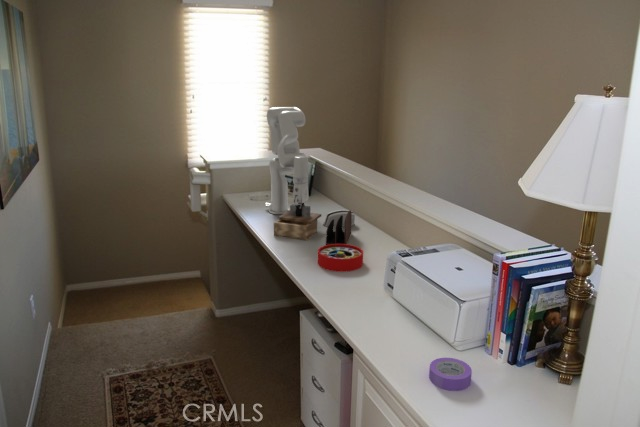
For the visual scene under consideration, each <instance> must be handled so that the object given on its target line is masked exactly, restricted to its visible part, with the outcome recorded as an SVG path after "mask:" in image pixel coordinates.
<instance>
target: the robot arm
mask: <svg viewBox="0 0 640 427" xmlns="http://www.w3.org/2000/svg"><path fill="white" fill-rule="evenodd" d="M266 120H267V125H268V126H269V130H270V148H271V153H272V155H275V156H277V157H274V158H272V159H271V160H269V164H268V166H269V172H270V192H271V193H270V194H271V195H270V196H271V197H270V203H269V202H265V203H264V204H265V205H264V206H265V208H269V209H268V212H269V214H272V215H273V214H274V215H283V214H284V213H286V212H287V211H289V210H290V208H289V204H288V202H289V200H288V198H289V195H288V193H289V190H288V189H289V184H288V179H287V178H286V177H285V176H284V175H292V174H293V175H292V180H293V181H292V182H293V192H292V201H293V204H294V206H296V216H302V209H301V205H303V206H306V202H308V201H309V197H310V195H309V157H308V156H307V155H306V154H305V153H302V152H301V151H300V142H299V140H298V138H299V132H298V128H299V127H300V128H301V127H304V126H305V125H306V116H305V113H304V112H303V111H302V110H301V109H300V108H298V107H296V106H277V107H276V106H275V107H274V106H273V107H270V108H268V110H267V112H266ZM297 127H298V128H297ZM299 205H300V206H299Z"/></svg>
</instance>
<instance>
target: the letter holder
mask: <svg viewBox="0 0 640 427" xmlns="http://www.w3.org/2000/svg"><path fill="white" fill-rule="evenodd" d="M349 210H350V211H349V212H348V213H347V216H346V218H345V226H344V231H343V226H342V222H343V215H341V216H340V217H339V219H338V221H337V223H336V226H335V229H334V219H332V221H331V222H330V224H329V225H328V227H326V231H325V232H326V233H325V245H330V244H348V243H349V240H350V237H352V225H351V211H352V210H351V209H349Z"/></svg>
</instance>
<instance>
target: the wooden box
mask: <svg viewBox="0 0 640 427" xmlns="http://www.w3.org/2000/svg"><path fill="white" fill-rule="evenodd" d="M317 233H318V219H317V220H315V221H314V222H313V223H305V222H297V221H289V220H281V219H279V218H278V219H277V220H276V221H274V222H273V236H274V237H279V238H285V239H286V238H287V239H292V240H302V241H308V240H310V239H311V238H312V237H313V236H315V235H316V234H317Z"/></svg>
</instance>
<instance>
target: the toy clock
mask: <svg viewBox="0 0 640 427" xmlns="http://www.w3.org/2000/svg"><path fill="white" fill-rule="evenodd" d="M363 265H364V250H363V249H362V248H360V247H359V246H356V245H353V244H348V243H347V244H330V245H326V244H325V245H322V246H320V247H319V248H318V249H317V266H318V267H320V268H322V269H323V270H327V271H332V272H338V273H339V272H340V273H343V272H353V271H356V270H359V269H361V268H362V267H363Z"/></svg>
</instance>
